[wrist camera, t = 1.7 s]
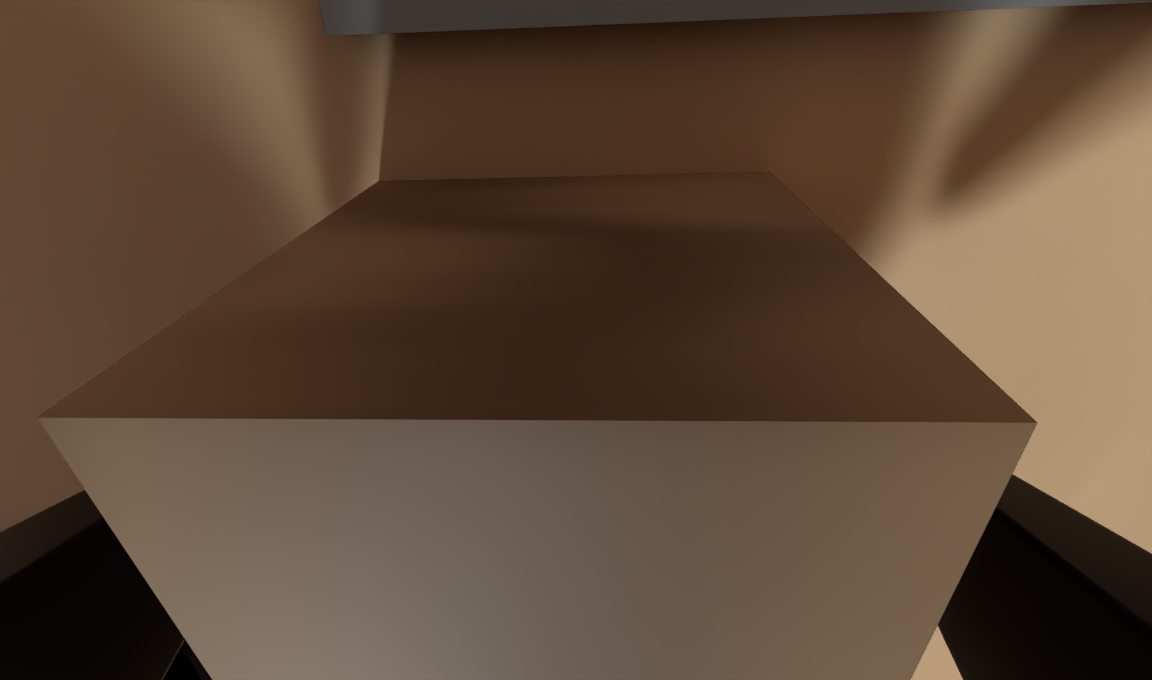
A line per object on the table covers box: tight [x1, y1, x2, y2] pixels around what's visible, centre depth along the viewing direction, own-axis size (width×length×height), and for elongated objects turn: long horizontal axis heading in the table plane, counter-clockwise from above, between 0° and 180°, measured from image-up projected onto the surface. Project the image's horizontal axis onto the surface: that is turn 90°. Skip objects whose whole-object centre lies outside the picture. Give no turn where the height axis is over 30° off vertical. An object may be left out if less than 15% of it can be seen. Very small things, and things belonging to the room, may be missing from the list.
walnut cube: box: [37, 172, 1037, 680], centre depth 7 cm, size 6×6×6 cm
